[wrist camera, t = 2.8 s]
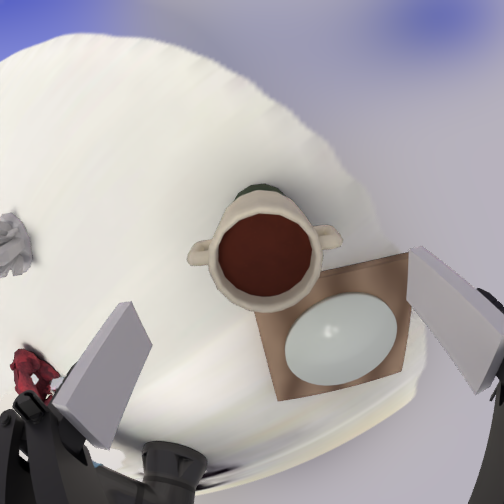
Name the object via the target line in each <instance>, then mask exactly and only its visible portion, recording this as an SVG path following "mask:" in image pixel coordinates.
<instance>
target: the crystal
mask: <svg viewBox="0 0 504 504" xmlns="http://www.w3.org/2000/svg"><path fill="white" fill-rule="evenodd" d="M32 259H33V257H32V250H31V241H30V237H29V235H28V233H27V230H26V228H25V226H24V224H23V222H22V221H21V220H20V219H19V218H18V217H17V216H15V215H14V214H13V213H8V214H2V215H1V217H0V278H2V277H6V276H7V274H8V272H9V270H12V273H13V276H17V275H22V273H24V272H26V271H27V270H28V269H29V268H30V267H31V263H32Z"/></svg>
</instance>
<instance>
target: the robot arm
mask: <svg viewBox="0 0 504 504" xmlns="http://www.w3.org/2000/svg"><path fill="white" fill-rule="evenodd" d="M406 300H407V301H408V303H409V304H410V305H411V306H412V307H413V309H414V310H415V311H416V313H417V314H418V315H419V316H420V318H421V319H422V320H423V321H424V323H425V324H426V325H427V327H428V328H429V329H430V331H431V332H432V333H433V335H434V336H435V337H436V338H437V340H438V341H439V343H440V344H441V345H442V347H443V348H444V350H445V351H446V352H447V354H448V355H449V357H450V358H451V359H452V361H453V362H454V364H455V365H456V366H457V368H458V370H459V371H460V373H461V374H462V376H463V377H464V378H465V380H466V382H467V383H468V385H469V386H470V388H471V389H472V391H473V393H474V394H475V395H477V394H479V393H480V392H482V391H484V390H485V389H487V388H489V387H490V386H491V384H492V382H493V380H494V378H495V376H497V377H498V379H499V380H500V381H499V383H498V385H497V387H496V388H495V390H494V392H493V394H492V395H491V398H490V401H492V400H493V398H494V397H495V395H496V400H495V407H494V413H493V419H492V424H491V430H490V434H489V439H488V443H487V448H486V451H485V455H484V459H483V462H482V465H481V469H480V472H479V476H478V478H477V482H476V484H475V487H474V489H473V492H472V495H471V497H470V500H469V502H468V504H504V307H503V305H502V304H501V303H500V302H499V301H497V299H496V298H494V297H493V296H492V295H491V294H490V293H489V292H486V291H484V290H482V289H480V288H477V289H475V288H474V287H473V286H472V285H470V283H468V282H467V281H466V280H465V279H464V278H462V277H461V276H460V275H459V274H458V273H456V272H455V271H454V270H452V269H451V268H450V267H449V266H448V265H446V264H445V263H444V262H443V261H441V260H440V259H439V258H437V257H436V256H435V255H433V254H432V253H431V252H430V251H428V250H427V249H425V248H424V247H423V246H419V247H415V248H411V249H409V261H408V283H407V297H406ZM151 348H152V343H151V341H150V339H149V337H148V335H147V333H146V331H145V329H144V327H143V325H142V323H141V321H140V319H139V317H138V314H137V312H136V310H135V308H134V306H133V304H132V301H130V302H123V303H119V304H118V305H117V307H116V308H115V309H114V311H113V312H112V313H111V315H110V316H109V317H108V319H107V320H106V322H105V323H104V324H103V326H102V327H101V328H100V330H99V331H98V333H97V334H96V336H95V337H94V338H93V340H92V341H91V343H90V344H89V346H88V347H87V349H86V350H85V351H84V353H83V354H82V356H81V357H80V359H79V360H78V361H77V362H76V363H75V364H74V365H73V366H72V367H71V369H70V370H69V372H68V373H67V377H65V378H64V380H63V381H62V382H63V383H61V384H60V386H59V387H58V389H57V391H56V392H55V394H54V395H53V397H52V399H51V400H50V402H49V404H48V405H47V406H46V405H45V404H44V402H43V401H42V400H41V399H40V398H39V396H38V395H37V394H36V393H35V392H34V391H33V390H26V391H24V392H22V393H21V394H19V396H18V397H17V398H16V399H15V401H14V403H13V408H14V410H15V411H16V412H17V413H18V414H19V415H20V416H21V417H20V416H19V415H18V414H17V413H16V412H15V411H14V410H13V409H8V410H6V411H4V412H3V413H2V414H1V416H0V504H194V497H195V490H196V486H197V485H198V483H199V481H200V479H201V478H202V476H203V474H204V472H205V471H206V466H207V460H206V458H205V457H204V456H203V455H202V454H200V453H198V452H197V451H195V450H192V449H190V448H187V447H184V446H181V445H177V444H173V443H168V442H149V443H147V444H145V445H144V448H143V452H142V459H143V468H144V478H143V482H140V481H137V480H135V479H132V478H130V477H127V476H125V475H123V474H120V473H118V472H116V471H114V470H112V469H109V468H107V467H105V466H103V464H99V463H96V462H94V461H92V459H91V456H90V453H89V450H88V449H87V447H86V446H85V445H84V442H85V440H86V439H87V440H88V441H89V442H90V443H91V444H92V445H93V446H94V447H96V448H101V449H105V450H110V447H111V444H112V442H113V439H114V436H115V434H116V431H117V428H118V426H119V423H120V421H121V418H122V416H123V413H124V411H125V408H126V406H127V403H128V401H129V399H130V396H131V394H132V391H133V389H134V387H135V384H136V382H137V380H138V377H139V375H140V373H141V370H142V368H143V366H144V363H145V361H146V359H147V357H148V354H149V352H150V350H151ZM19 449H20V450H21V451H22V452H23V453H24V454H25V455H26V456H28V461H25V460H24V459H23V458H22V457H20V456H19Z"/></svg>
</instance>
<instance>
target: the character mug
mask: <svg viewBox="0 0 504 504" xmlns="http://www.w3.org/2000/svg"><path fill="white" fill-rule="evenodd" d="M342 243H343V239H342V237H341V235H340V234H339V233H338V231H337V230H336V229H335V228H334V227H333V226H330V225H319V226H312V225H311V223H310V222H309V220H308V219H307V218H306V216H305V215H304V213H303V212H302V211H301V210H300V209H299V207H298V206H297V205H296V204H295V203H294V202H293V200H291V199H289V198H287V197H286V196H285V195H284V194H283V193H282V192H281V191H280V190H279V189H278V188H276V187H273V186H270V185H267V184H258V185H251V186H249V187H247V188H246V189H244V190H243V191H241V192H240V193H238V195H237V197H236V198H235V200H234V202H233V203H232V204H231V205H230V206H228V207H227V208H226V210H225V212H224V214H223V216H222V219H221V221H220V223H219V225H218V227H217V230H216V232H215V234H214V236H213V239H210V240H203V241H199V242H197V243H195V244H194V245H193V246H192V248H191V250H190V252H189V253H188V256H187V262H188V263H189V264H190V266H202V265H209V272H210V275H211V277H212V279H213V281H214V283H215V285H216V287H217V289H218V290H219V291H220V292H221V293H222V294H223V295H224V296H225V297H226V298H227V299H228V300H229V301H230V302H232V303H233V304H236V305H238V306H240V307H242V308H244V309H246V310H248V311H254V312H260V313H273V312H277V311H282V310H284V309H286V308H289V307H291V306H294V305H295V304H297V303H298V302H299V301H300V300H301V299H303V298H304V297H305V296H306V295H308V294H309V293H310V291H311V289H312V288H313V286H314V285H315V283H316V281H317V280H318V278H319V276H320V272H321V267H322V261H323V252H322V250H328V249H334V248H338V247H341V245H342Z"/></svg>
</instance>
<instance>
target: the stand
mask: <svg viewBox="0 0 504 504" xmlns="http://www.w3.org/2000/svg"><path fill="white" fill-rule="evenodd" d="M408 261H409V252H407V253H402V254H398V255H394V256H390V257H385V258H381V259H377V260H372V261H368V262H363V263H359V264H354V265H350V266H345V267H341V268H336V269H331V270H326V271H322V272H320V276H319V278H318V280H317V281H316V283H315V285H314V286H313V288H312V289H311V291H310V293H309V294H308V295H306V296H305V297H304V298H303V299H301V300H300V301H299V302H298V303H297V304H295V305H294V306H291V307H289V308H286V309H284V310H282V311H277V312H273V313H260V312H254V313H255V317H256V321H257V325H258V328H259V332H260V336H261V340H262V344H263V348H264V351H265V355H266V359H267V363H268V367H269V370H270V374H271V378H272V382H273V385H274V389H275V393H276V396H277V400H278V401H284V400H290V399H296V398H301V397H307V396H312V395H317V394H321V393H326V392H330V391H335V390H339V389H343V388H347V387H351V386H355V385H359V384H362V383H366V382H369V381H373V380H376V379H379V378H383V377H386V376H389V375H392V374H395V373H398V372H401V371H402V366H403V361H404V355H405V350H406V344H407V338H408V331H409V324H410V316H411V307H412V306H411V305H410V304H409V303H408V301H407V300H406V297H407V283H408ZM346 292H363V293H368V294H371V295H374V296H376V297H378V298H380V299H381V300H383V301H384V302H385V303H386V304H387V305H388V307H389V308H390V309H391V311H392V312H393V314H394V316H395V319H396V323H397V334H396V339H395V342H394V344H393V346H392V348H391V350H390V352H389V353H388V355H387V356H386V357H385V359H384V360H383V361H382V362H381V363H380V364H379V365H378V366H377V367H376V368H374V369H373V370H372V371H370V372H369V373H367V374H366V375H364V376H362V377H360V378H358V379H356V380H353V381H351V382H347V383H344V384H339V385H327V386H324V385H316V384H311V383H308V382H306V381H304V380H301V379H300V378H298V377H297V376H296V375H295V374H294V373H293V372H292V371H291V370H290V368H289V366H288V364H287V361H286V356H285V341H286V337H287V334H288V332H289V330H290V328H291V326H292V325H293V323H294V322H295V321H296V319H297V318H298V317H299V316H300V315H301V314H302V313H303V312H304V311H306V310H307V309H308V308H309V307H311V306H312V305H314V304H315V303H317V302H319V301H321V300H323V299H325V298H328V297H330V296H333V295H337V294H340V293H346Z"/></svg>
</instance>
